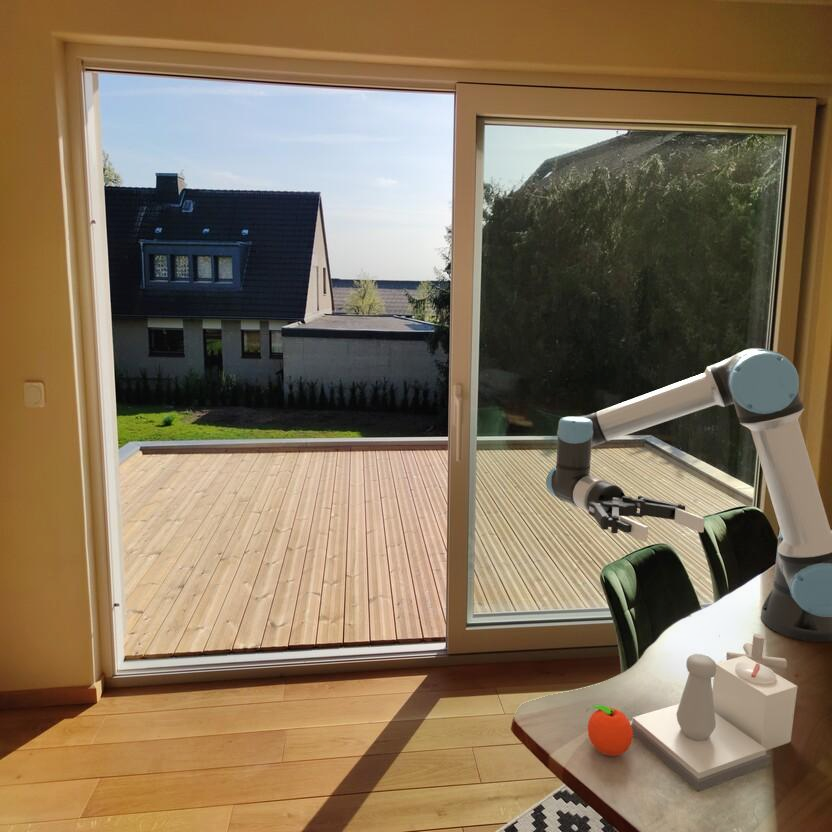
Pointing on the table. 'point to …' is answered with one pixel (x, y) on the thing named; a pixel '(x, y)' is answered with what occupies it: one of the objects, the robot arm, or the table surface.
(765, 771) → the table surface
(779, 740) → the dial scale
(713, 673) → the salt shaker
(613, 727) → the clementine
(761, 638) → the pipe connector
